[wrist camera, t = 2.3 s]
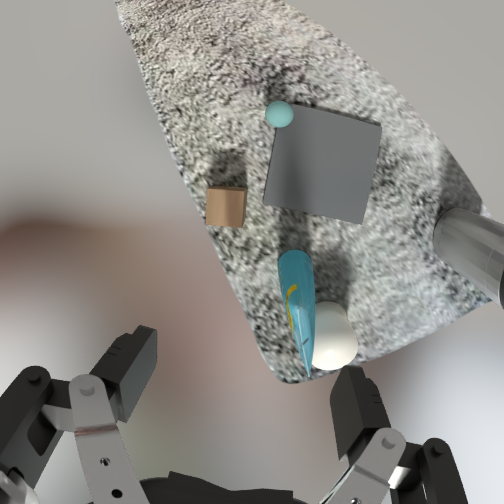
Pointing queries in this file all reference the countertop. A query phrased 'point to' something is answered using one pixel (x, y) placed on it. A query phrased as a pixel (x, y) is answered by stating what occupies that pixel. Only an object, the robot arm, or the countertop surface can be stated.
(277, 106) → the teal ball
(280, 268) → the tube
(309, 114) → the plate
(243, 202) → the walnut block
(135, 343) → the robot arm
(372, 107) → the countertop surface
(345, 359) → the white rounded cylinder
